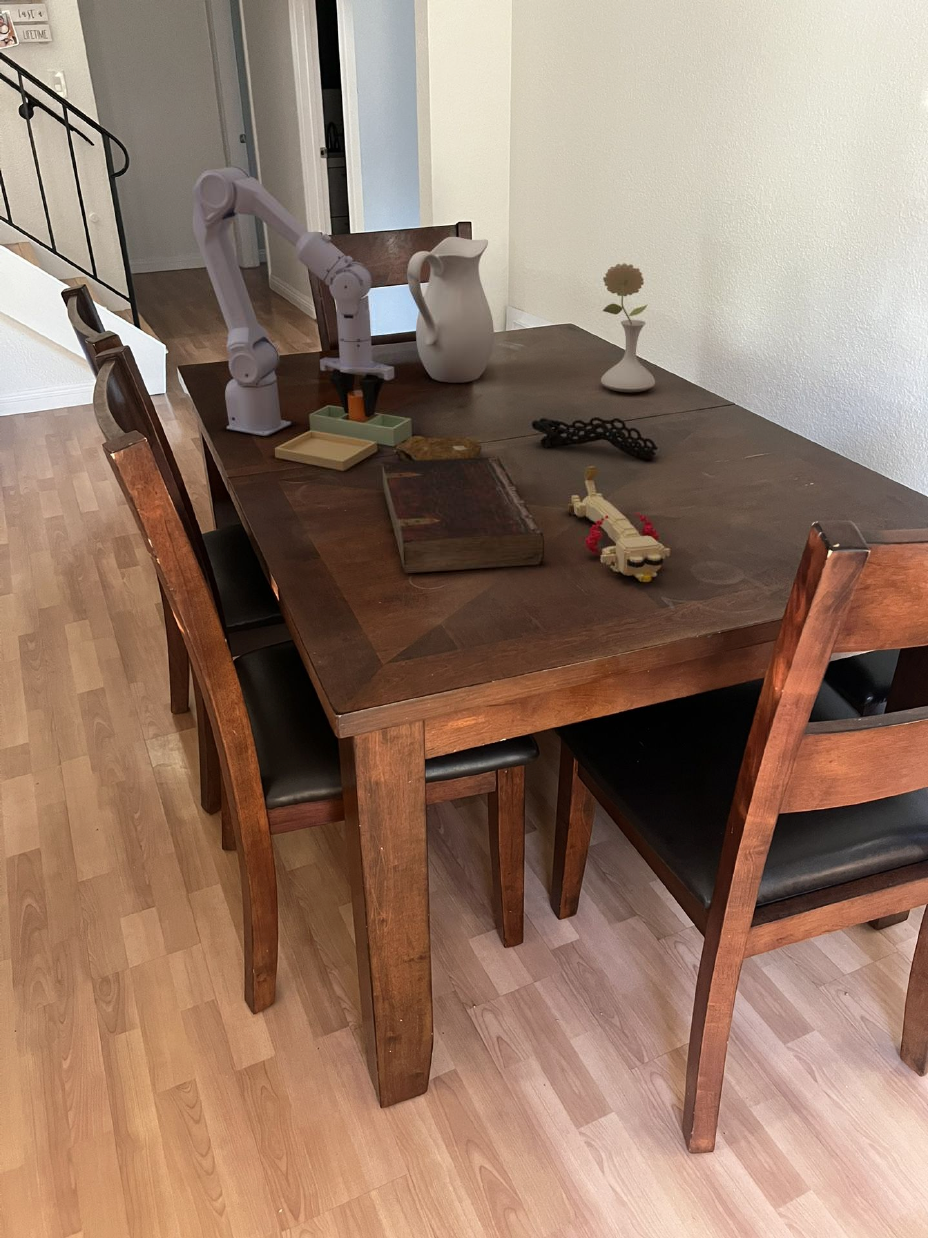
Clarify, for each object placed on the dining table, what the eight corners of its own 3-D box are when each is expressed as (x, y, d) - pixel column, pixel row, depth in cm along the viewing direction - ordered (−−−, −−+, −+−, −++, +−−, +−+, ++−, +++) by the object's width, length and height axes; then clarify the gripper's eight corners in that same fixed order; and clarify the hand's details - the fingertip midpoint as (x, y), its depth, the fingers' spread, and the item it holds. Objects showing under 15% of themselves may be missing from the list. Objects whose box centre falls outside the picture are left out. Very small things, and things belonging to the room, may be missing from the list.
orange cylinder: (344, 421, 164) (342, 394, 162) (356, 415, 168) (355, 388, 165) (363, 424, 163) (361, 397, 160) (374, 418, 166) (373, 391, 163)
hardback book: (543, 564, 121) (544, 530, 118) (404, 575, 118) (403, 541, 116) (499, 483, 145) (499, 454, 143) (383, 491, 143) (382, 461, 140)
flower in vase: (662, 386, 192) (676, 262, 179) (641, 400, 184) (654, 271, 171) (606, 377, 198) (616, 257, 185) (584, 390, 190) (592, 265, 177)
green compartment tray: (310, 431, 168) (308, 414, 166) (329, 421, 173) (328, 404, 171) (394, 446, 161) (393, 428, 159) (411, 435, 165) (411, 418, 164)
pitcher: (447, 362, 210) (446, 233, 195) (508, 373, 201) (510, 240, 187) (381, 386, 193) (374, 247, 179) (444, 399, 184) (442, 255, 170)
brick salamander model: (553, 522, 135) (611, 587, 113) (554, 465, 132) (615, 522, 110) (615, 516, 137) (684, 579, 115) (619, 460, 133) (691, 515, 111)
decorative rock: (392, 477, 149) (482, 479, 149) (391, 454, 147) (483, 456, 147) (395, 449, 158) (480, 451, 159) (395, 427, 156) (481, 429, 157)
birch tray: (275, 457, 156) (274, 448, 155) (311, 438, 164) (310, 429, 163) (343, 470, 150) (343, 461, 150) (377, 450, 159) (376, 441, 158)
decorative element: (657, 455, 156) (661, 422, 153) (650, 464, 152) (654, 431, 149) (536, 438, 164) (538, 406, 161) (527, 446, 160) (528, 414, 157)
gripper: (307, 338, 157) (314, 413, 164) (377, 347, 152) (381, 425, 159) (330, 330, 163) (335, 403, 170) (399, 338, 157) (401, 414, 164)
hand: (359, 413), depth 165 cm, fingers closed on orange cylinder, 4 cm apart
